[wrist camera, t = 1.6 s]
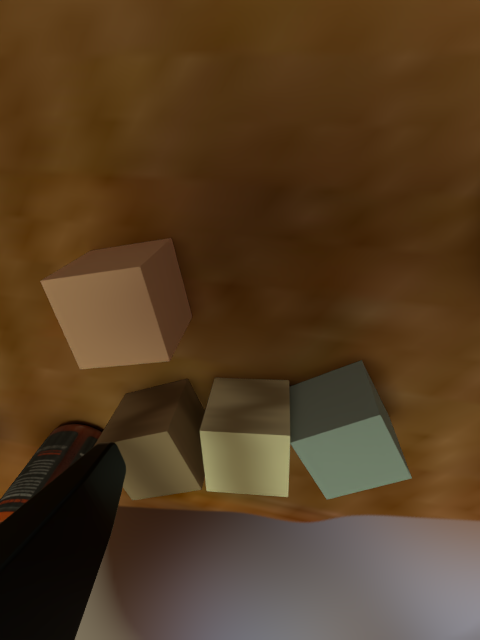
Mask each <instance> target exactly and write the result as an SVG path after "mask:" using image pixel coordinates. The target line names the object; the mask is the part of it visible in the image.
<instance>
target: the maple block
mask: <svg viewBox="0 0 480 640" xmlns="http://www.w3.org/2000/svg"><path fill="white" fill-rule="evenodd" d="M200 439H201V447H202V455H203V464H204V472H205V481H206V489H207V491H213V492H227V493H241V494H254V495H268V496H281V497H288V484H289V457H290V394H289V380H266V379H239V378H215V379H214V382H213V386H212V389H211V393H210V396H209V400H208V403H207V407H206V410H205V414H204V417H203V421H202V424H201V428H200Z"/></svg>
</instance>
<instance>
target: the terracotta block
mask: <svg viewBox="0 0 480 640" xmlns="http://www.w3.org/2000/svg"><path fill="white" fill-rule="evenodd" d="M41 284H42V286H43V288H44V290H45V293H46V295H47V297H48V299H49V301H50V304H51V306H52V308H53V310H54V312H55V315H56V317H57V319H58V321H59V324H60V326H61V328H62V330H63V332H64V335H65V337H66V339H67V341H68V344H69V346H70V348H71V350H72V352H73V355H74V357H75V359H76V361H77V363H78V366H79V368H80V369H89V368H100V367H111V366H122V365H133V364H144V363H155V362H167V361H170V360H171V358H172V356H173V354H174V352H175V350H176V348H177V346H178V344H179V342H180V340H181V338H182V336H183V334H184V332H185V330H186V328H187V326H188V324H189V322H190V320H191V318H192V314H191V310H190V306H189V302H188V298H187V295H186V291H185V287H184V283H183V280H182V276H181V272H180V268H179V264H178V261H177V257H176V253H175V249H174V246H173V242H172V238H168V239H161V240H155V241H149V242H142V243H136V244H130V245H123V246H117V247H110V248H104V249H98V250H91V251H89V252H88V253H86V254H84V255H83V256H81V257H79V258H78V259H76V260H74V261H73V262H71V263H69V264H68V265H66V266H64V267H63V268H61V269H59V270H58V271H56V272H54V273H53V274H51V275H49V276H48V277H46V278H44V279H43V280H41Z"/></svg>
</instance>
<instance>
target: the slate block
mask: <svg viewBox="0 0 480 640" xmlns="http://www.w3.org/2000/svg"><path fill="white" fill-rule="evenodd" d="M289 394H290V444H291V445H292V447H293V448H294V450H295V451H296V453H297V454H298V456H299V457H300V459H301V461H302V462H303V464H304V465H305V467H306V468H307V470H308V471H309V473H310V474H311V476H312V477H313V479H314V480H315V482H316V483H317V485H318V487H319V488H320V490H321V491H322V493H323V494H324V496H325V497H326V499H331V498H335V497H339V496H343V495H347V494H351V493H355V492H359V491H363V490H367V489H371V488H375V487H379V486H383V485H387V484H391V483H395V482H399V481H403V480H406V479H410V478H412V477H411V474H410V472H409V469H408V466H407V464H406V461H405V458H404V455H403V453H402V450H401V447H400V445H399V442H398V439H397V437H396V434H395V431H394V428H393V426H392V423H391V420H390V418H389V415H388V413H387V411H386V409H385V407H384V405H383V403H382V401H381V399H380V397H379V395H378V393H377V391H376V389H375V387H374V384H373V382H372V380H371V378H370V376H369V374H368V372H367V370H366V368H365V366H364V364H363V362H362V360H361V361H358V362H355V363H353V364H350V365H347V366H345V367H342V368H339V369H336V370H334V371H331V372H328V373H326V374H323V375H320V376H317V377H315V378H312V379H309V380H307V381H304V382H301V383H298V384H296V385H293V386H290V387H289Z"/></svg>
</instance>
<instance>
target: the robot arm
mask: <svg viewBox="0 0 480 640" xmlns="http://www.w3.org/2000/svg"><path fill="white" fill-rule="evenodd" d="M125 475H126V464H125V461H124V459H123V457H122V455H121V452H120V450H119V448H118V446H117V444H116V443H114V442H101V443H98V444H97V445H95V446H94V447H93V448H92V449H90V450H89V451H88V452H87V453H86V454H84V455H83V456H82V457H81V458H79V459H78V460H77V461H76V462H75V463H73V464H72V465H71V466H70V467H68V468H67V469H66V470H65V471H64V472H62V473H61V474H60V475H59V476H58V477H56V478H55V479H54V480H53V481H51V482H50V483H49V484H48V485H47V486H45V487H44V488H43V489H42V490H40V491H39V492H38V493H37V494H36V495H34V496H33V497H32V498H31V499H29V500H28V501H27V502H26V503H25V504H23V505H22V506H21V507H20V508H18V509H17V510H16V511H15V512H14V513H12V514H11V515H10V516H9V517H7V518H6V519H5V520H4V521H3V522H1V523H0V640H75V636H76V634H77V631H78V628H79V625H80V622H81V619H82V617H83V614H84V611H85V608H86V605H87V602H88V599H89V596H90V594H91V591H92V588H93V585H94V582H95V579H96V576H97V573H98V570H99V568H100V564H101V562H102V559H103V556H104V553H105V550H106V547H107V544H108V541H109V538H110V535H111V531H112V528H113V524H114V520H115V516H116V512H117V508H118V504H119V500H120V496H121V492H122V488H123V483H124V479H125Z"/></svg>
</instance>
